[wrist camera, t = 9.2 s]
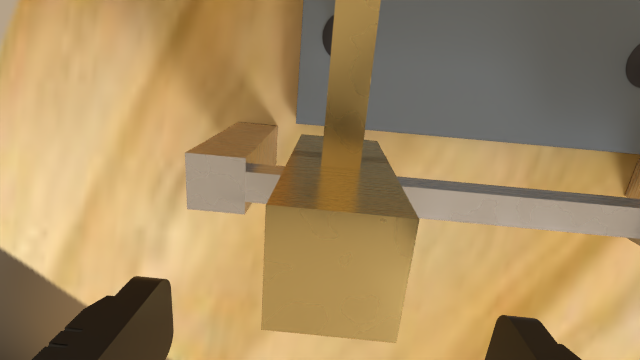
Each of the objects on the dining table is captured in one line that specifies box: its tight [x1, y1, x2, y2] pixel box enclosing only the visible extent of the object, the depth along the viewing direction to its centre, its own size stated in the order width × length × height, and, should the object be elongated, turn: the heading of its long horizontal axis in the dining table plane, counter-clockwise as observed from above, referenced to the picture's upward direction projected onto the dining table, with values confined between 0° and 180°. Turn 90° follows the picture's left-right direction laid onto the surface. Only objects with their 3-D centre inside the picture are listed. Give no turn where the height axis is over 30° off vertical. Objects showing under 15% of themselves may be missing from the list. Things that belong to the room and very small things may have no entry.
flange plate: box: [296, 0, 640, 154], centre depth 24 cm, size 10×26×1 cm, turn 85°
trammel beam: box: [185, 122, 640, 246], centre depth 20 cm, size 11×33×12 cm, turn 85°
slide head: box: [261, 0, 419, 343], centre depth 17 cm, size 11×4×15 cm, turn 175°
